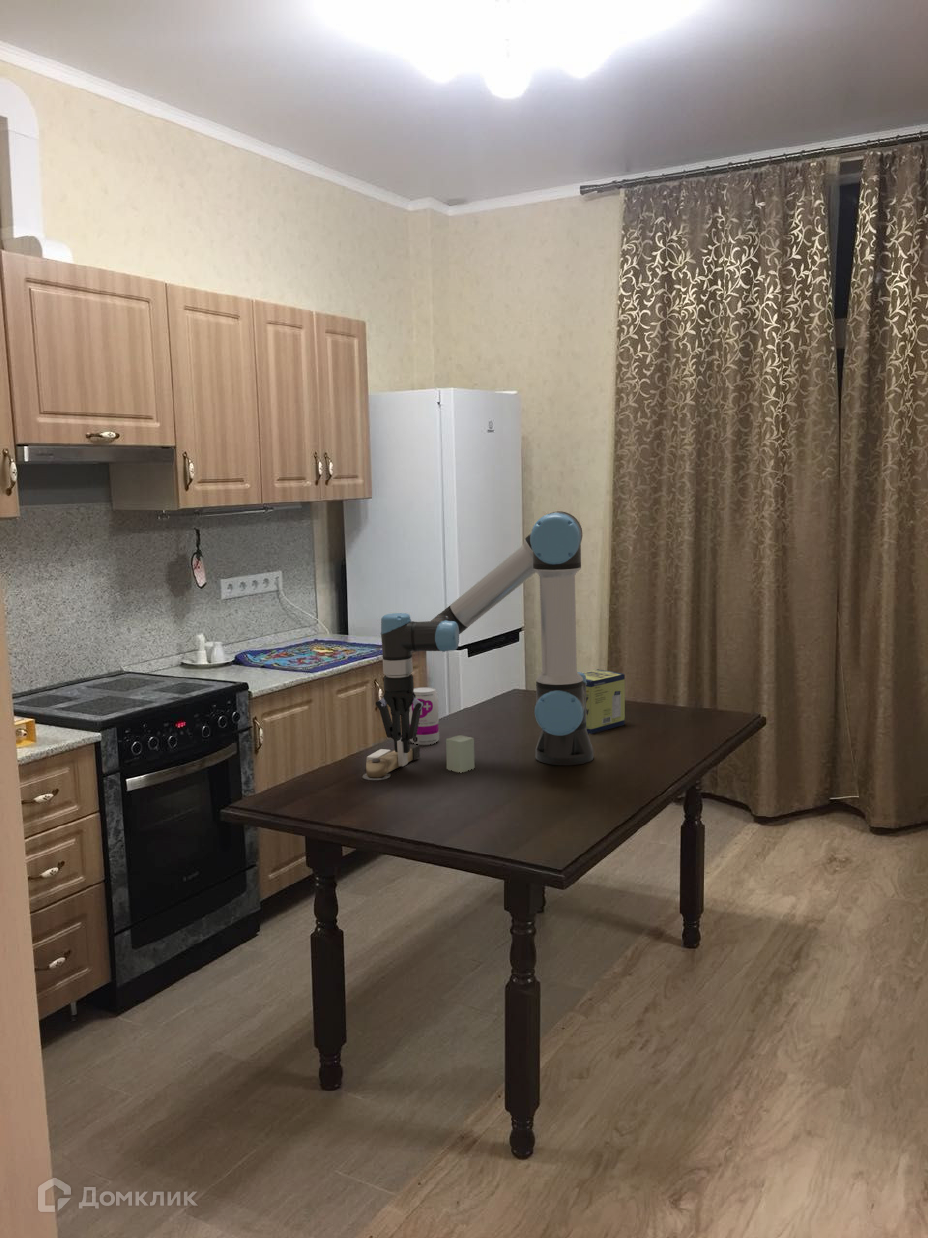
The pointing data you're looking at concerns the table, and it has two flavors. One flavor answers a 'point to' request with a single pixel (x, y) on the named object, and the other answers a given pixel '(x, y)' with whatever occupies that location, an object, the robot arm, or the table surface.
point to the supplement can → (426, 716)
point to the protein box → (604, 700)
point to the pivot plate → (376, 777)
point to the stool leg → (389, 762)
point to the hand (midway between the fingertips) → (403, 764)
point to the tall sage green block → (460, 753)
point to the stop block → (378, 754)
